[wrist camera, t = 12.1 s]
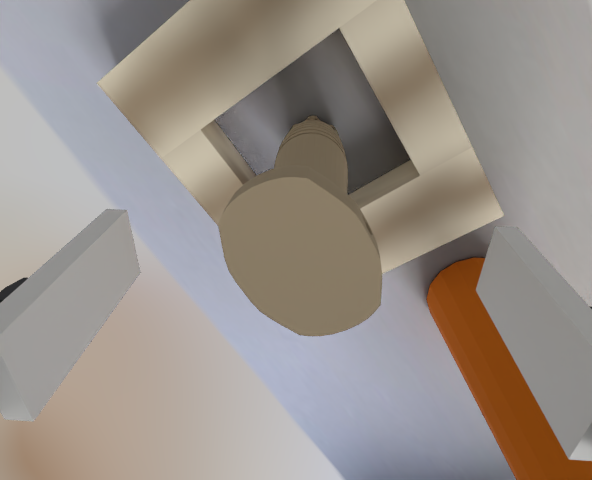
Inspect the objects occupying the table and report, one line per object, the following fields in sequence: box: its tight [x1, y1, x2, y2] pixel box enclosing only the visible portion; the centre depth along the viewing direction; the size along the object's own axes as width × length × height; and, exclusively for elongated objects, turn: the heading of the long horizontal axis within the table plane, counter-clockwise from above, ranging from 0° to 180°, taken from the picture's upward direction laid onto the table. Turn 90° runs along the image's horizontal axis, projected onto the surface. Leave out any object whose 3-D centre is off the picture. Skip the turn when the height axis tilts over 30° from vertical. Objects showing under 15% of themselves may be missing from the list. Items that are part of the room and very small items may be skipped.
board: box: [97, 0, 504, 274], centre depth 25 cm, size 20×16×3 cm
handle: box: [218, 116, 382, 336], centre depth 20 cm, size 5×6×15 cm
